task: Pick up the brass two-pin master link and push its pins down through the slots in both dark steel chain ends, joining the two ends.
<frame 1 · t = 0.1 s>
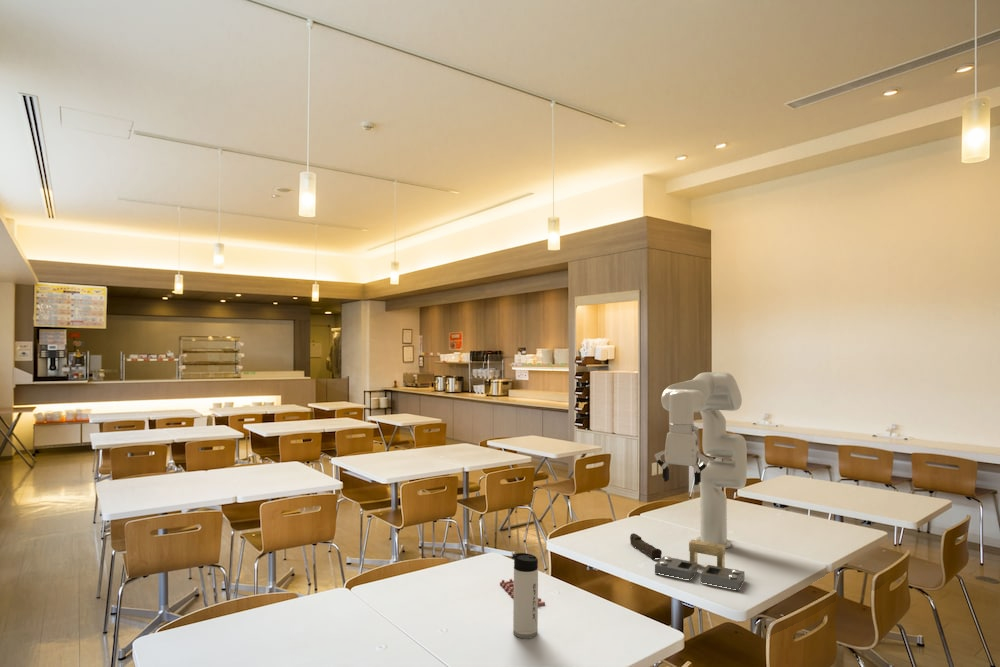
hand: (681, 482, 190), 31 cm above the table, tool pointing down, fingers open, 9 cm apart
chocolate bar: (521, 597, 177), on the table
travel mug: (524, 634, 152), on the table
chain end 2: (722, 582, 188), on the table
chain end 1: (676, 572, 196), on the table
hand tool: (642, 552, 217), on the table
master link: (707, 567, 201), on the table
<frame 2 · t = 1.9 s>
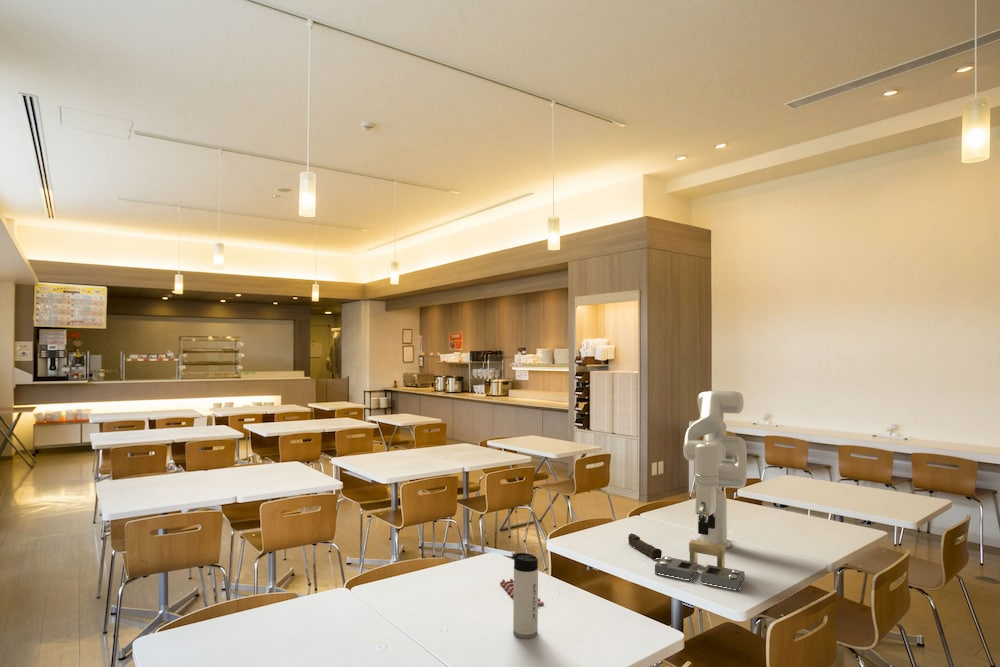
hand: (706, 531, 201), 12 cm above the table, tool pointing down, fingers open, 9 cm apart
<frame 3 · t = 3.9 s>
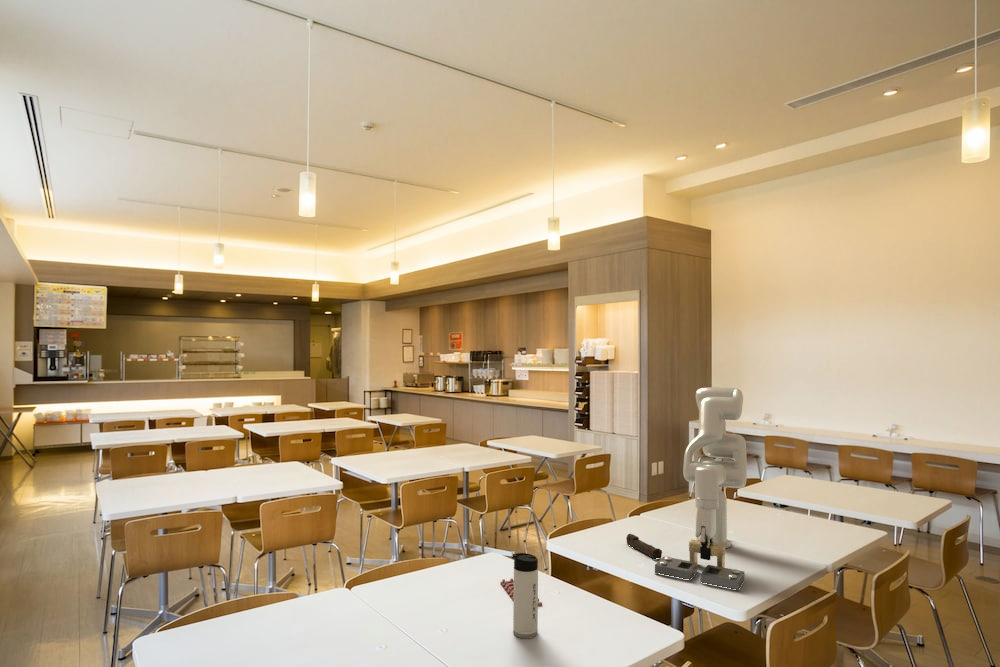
hand: (707, 556, 201), 4 cm above the table, tool pointing down, fingers closed on master link, 4 cm apart
master link: (707, 567, 201), on the table, touching gripper
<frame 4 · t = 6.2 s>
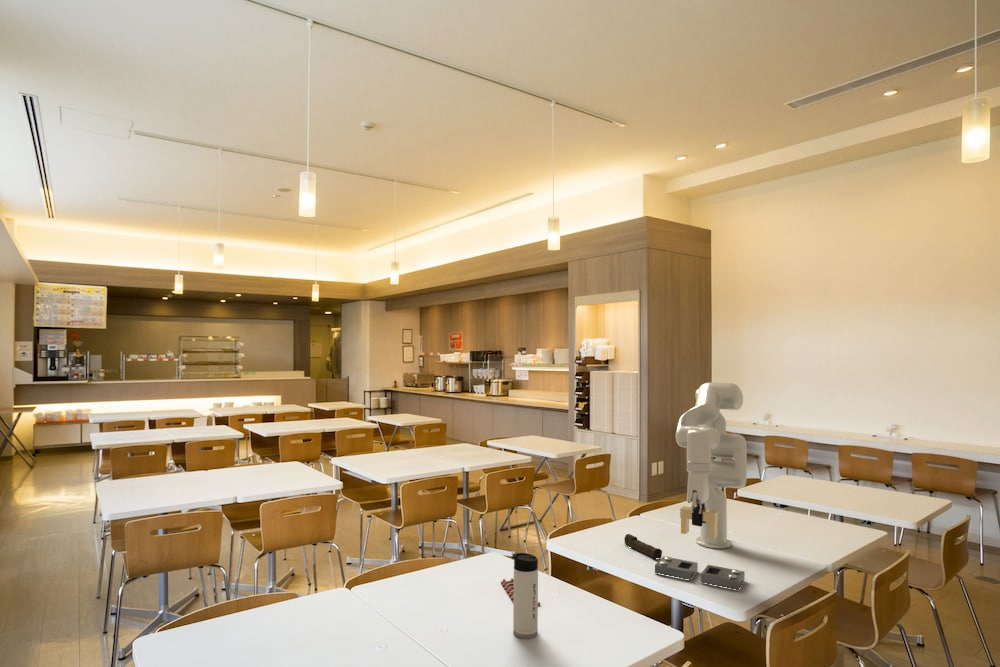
hand: (698, 523, 193), 17 cm above the table, tool pointing down, fingers closed on master link, 4 cm apart
master link: (699, 534, 193), point 14 cm above the table, touching gripper
when the fingers open (5 cm above the table, at t = 9.0 s): master link drops 1 cm, on the table.
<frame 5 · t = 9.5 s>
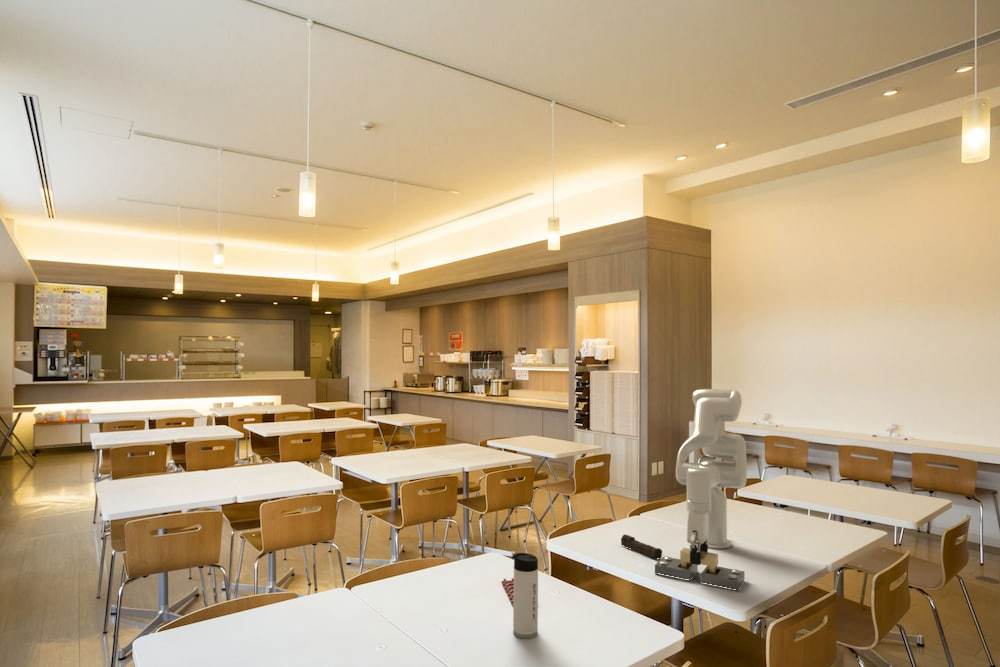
hand: (699, 559, 192), 6 cm above the table, tool pointing down, fingers open, 9 cm apart
master link: (699, 577, 192), on the table
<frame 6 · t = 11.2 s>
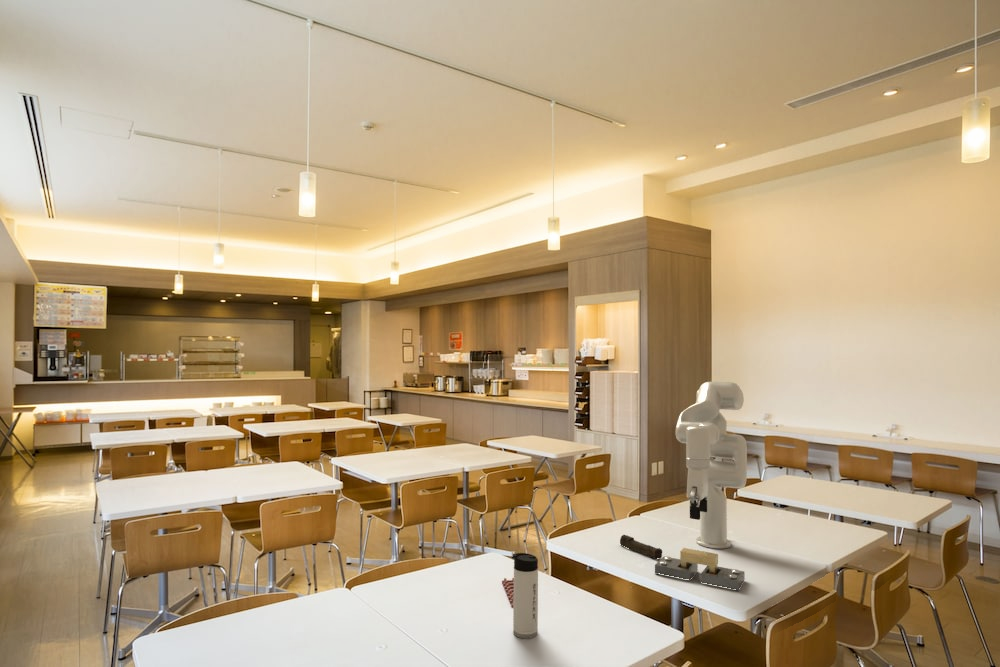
hand: (698, 515, 195), 19 cm above the table, tool pointing down, fingers open, 9 cm apart
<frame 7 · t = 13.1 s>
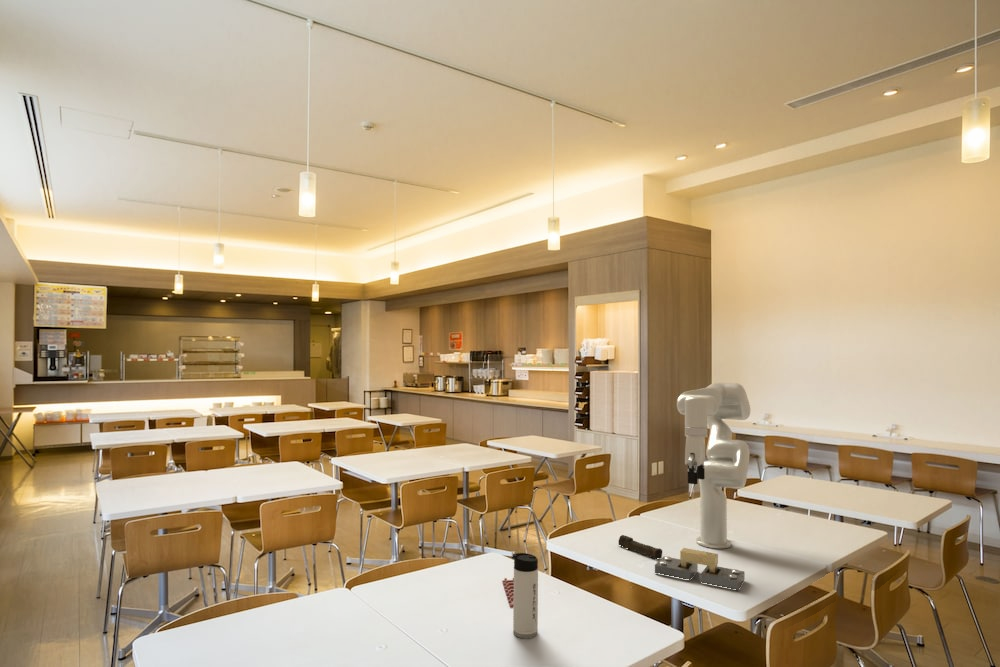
hand: (696, 481, 206), 28 cm above the table, tool pointing down, fingers open, 9 cm apart
at the end: master link 0.1 cm from the target spot, on the table; master link tilted 0°; the gripper is holding nothing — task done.
